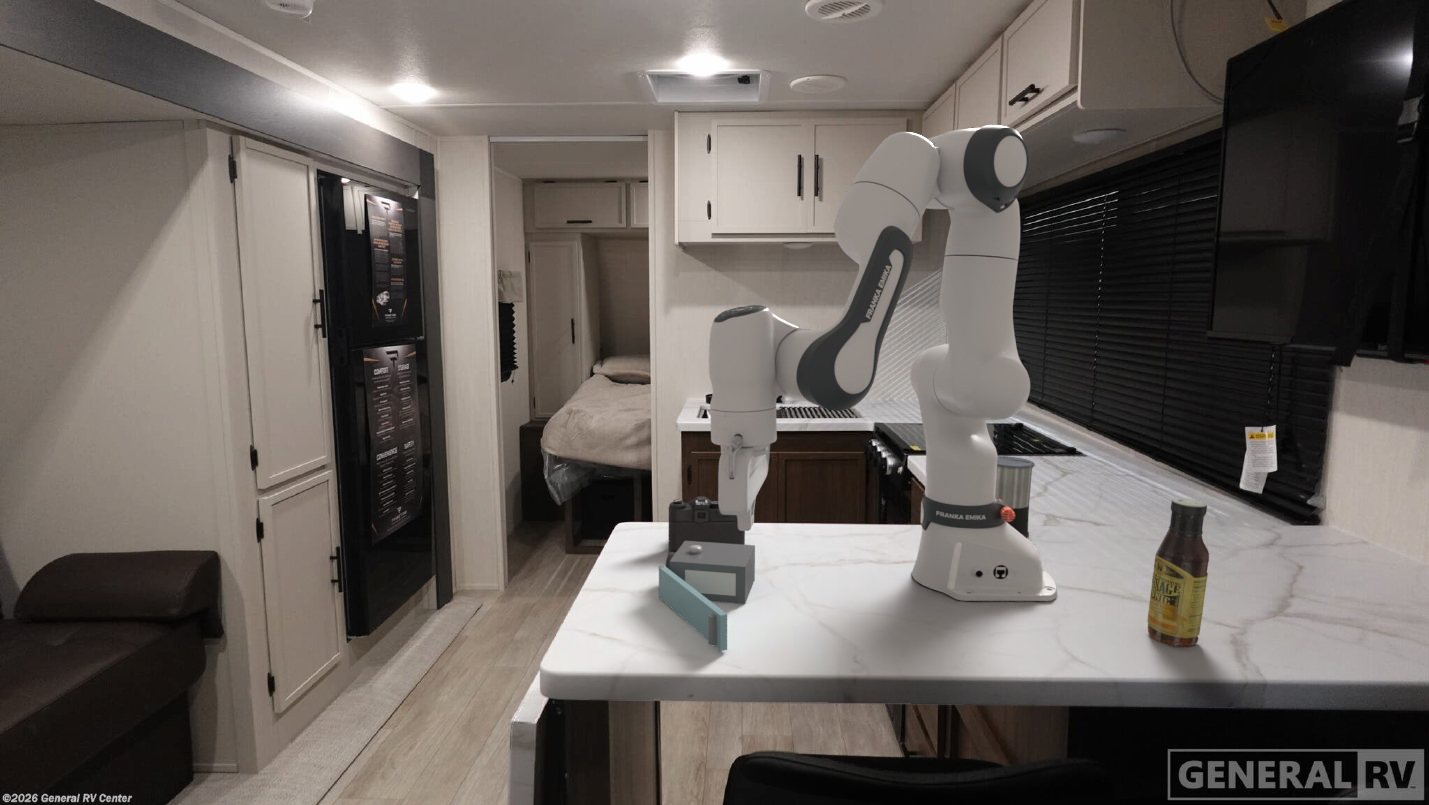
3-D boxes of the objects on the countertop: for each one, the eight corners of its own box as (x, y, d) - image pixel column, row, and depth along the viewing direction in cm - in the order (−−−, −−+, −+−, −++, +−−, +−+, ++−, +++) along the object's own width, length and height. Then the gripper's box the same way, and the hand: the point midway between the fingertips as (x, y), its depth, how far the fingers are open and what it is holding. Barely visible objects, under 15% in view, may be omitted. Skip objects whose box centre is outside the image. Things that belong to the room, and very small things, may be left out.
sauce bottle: (1136, 630, 106) (1148, 494, 103) (1177, 628, 107) (1190, 493, 104) (1167, 651, 100) (1181, 508, 97) (1211, 650, 100) (1226, 506, 98)
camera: (740, 535, 148) (740, 487, 147) (746, 555, 137) (746, 502, 136) (668, 537, 147) (667, 488, 146) (668, 556, 136) (668, 504, 135)
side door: (727, 649, 100) (727, 614, 99) (715, 652, 99) (715, 616, 98) (663, 595, 118) (663, 565, 117) (653, 597, 117) (652, 567, 116)
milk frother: (1024, 527, 153) (1028, 456, 151) (1042, 553, 138) (1047, 474, 136) (952, 523, 156) (955, 453, 154) (962, 548, 141) (966, 471, 138)
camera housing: (754, 579, 125) (755, 540, 124) (745, 604, 115) (745, 561, 114) (677, 573, 128) (676, 535, 127) (661, 597, 118) (660, 555, 117)
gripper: (755, 444, 89) (758, 555, 92) (776, 415, 109) (777, 506, 111) (704, 444, 91) (707, 553, 93) (733, 415, 110) (735, 505, 113)
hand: (746, 527), depth 102 cm, fingers closed
